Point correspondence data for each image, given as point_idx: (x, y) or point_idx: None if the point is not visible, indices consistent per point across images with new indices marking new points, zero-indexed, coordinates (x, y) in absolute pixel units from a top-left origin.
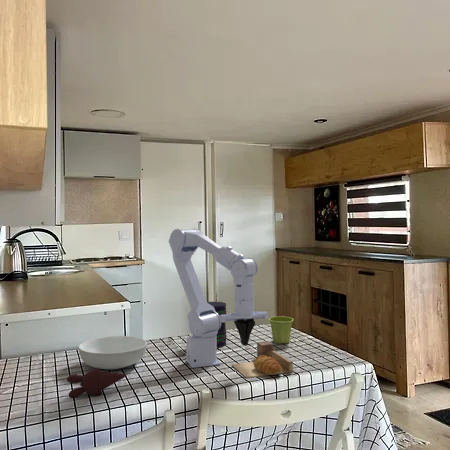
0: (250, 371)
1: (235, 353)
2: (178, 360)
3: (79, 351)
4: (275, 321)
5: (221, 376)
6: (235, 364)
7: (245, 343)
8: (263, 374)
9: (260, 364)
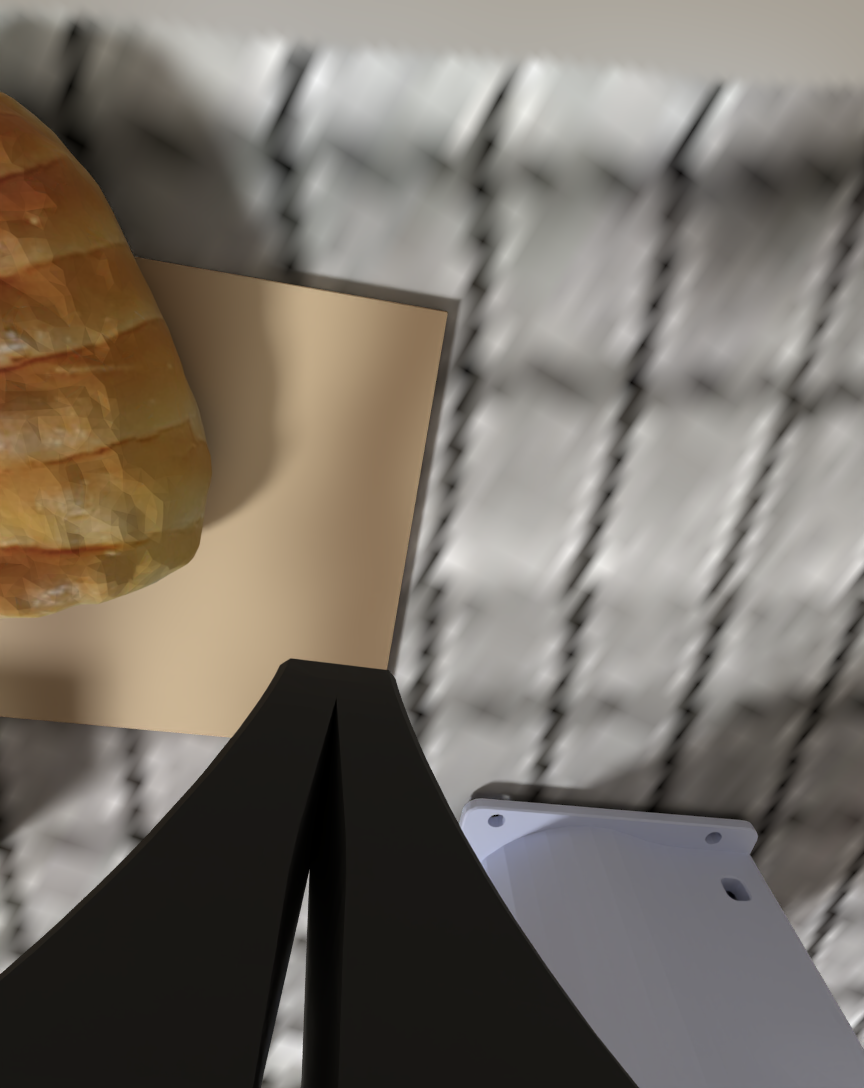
0: (290, 467)
1: None
2: None
3: None
4: None
5: (661, 511)
6: None
7: (350, 684)
8: (178, 274)
9: (143, 398)
